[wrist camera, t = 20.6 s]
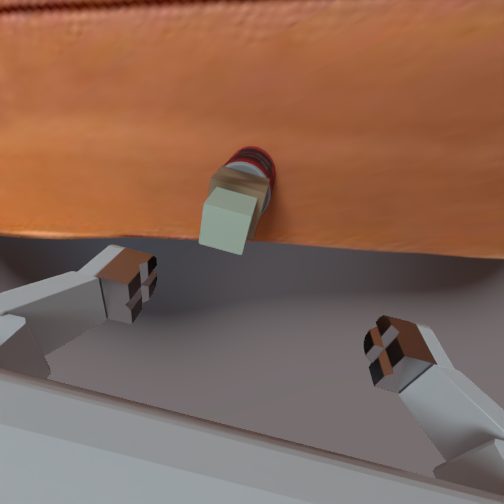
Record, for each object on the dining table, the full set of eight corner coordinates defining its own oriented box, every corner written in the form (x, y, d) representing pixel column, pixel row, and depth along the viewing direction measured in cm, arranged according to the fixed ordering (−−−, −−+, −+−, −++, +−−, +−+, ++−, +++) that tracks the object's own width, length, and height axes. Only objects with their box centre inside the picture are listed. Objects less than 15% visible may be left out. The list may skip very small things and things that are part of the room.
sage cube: (257, 198, 26) (251, 216, 22) (248, 233, 28) (241, 255, 25) (216, 186, 26) (203, 203, 22) (210, 223, 28) (198, 243, 25)
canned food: (237, 198, 43) (222, 227, 34) (223, 151, 39) (202, 170, 30) (280, 189, 41) (276, 217, 32) (269, 139, 37) (262, 155, 28)
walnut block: (269, 179, 30) (266, 193, 26) (257, 221, 33) (253, 240, 29) (222, 165, 30) (210, 178, 25) (215, 209, 33) (204, 227, 29)
